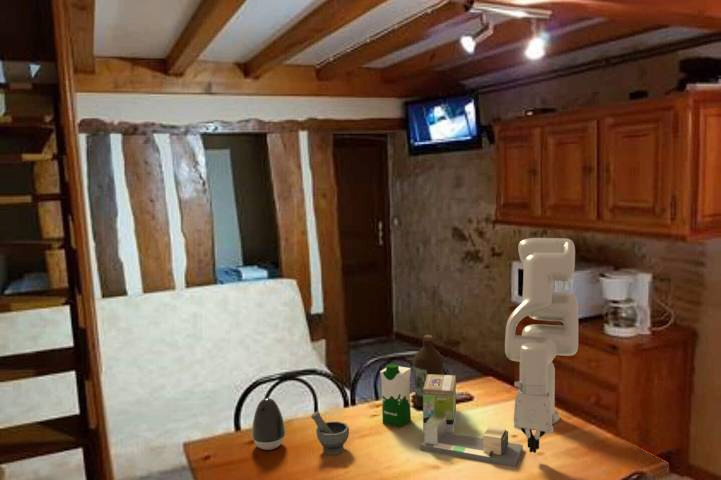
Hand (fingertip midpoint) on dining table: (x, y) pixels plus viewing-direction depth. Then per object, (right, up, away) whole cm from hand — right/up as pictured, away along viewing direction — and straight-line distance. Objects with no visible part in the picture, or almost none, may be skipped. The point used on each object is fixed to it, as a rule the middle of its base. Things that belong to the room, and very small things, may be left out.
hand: (533, 450), depth 168 cm
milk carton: (-37, -1, +30) cm, 47 cm away
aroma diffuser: (-77, -4, +15) cm, 79 cm away
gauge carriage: (-10, -1, +4) cm, 11 cm away
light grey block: (-26, -1, +13) cm, 29 cm away
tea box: (-23, -1, +27) cm, 35 cm away
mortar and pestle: (-58, -4, +11) cm, 59 cm away
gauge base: (-16, -3, +8) cm, 18 cm away
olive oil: (-25, +1, +44) cm, 50 cm away
